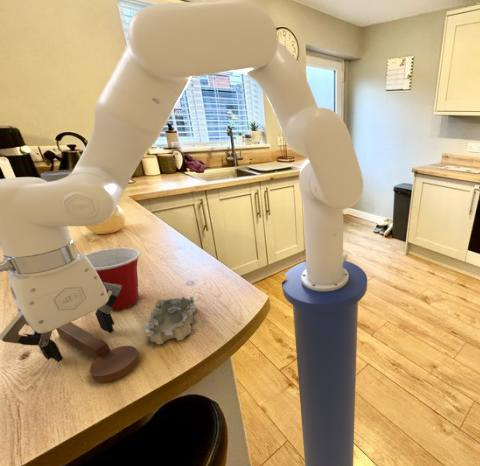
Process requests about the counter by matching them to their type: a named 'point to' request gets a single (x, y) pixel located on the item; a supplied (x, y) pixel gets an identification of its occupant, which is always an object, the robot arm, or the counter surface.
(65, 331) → the spoon
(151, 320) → the crystal geode chunk
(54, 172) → the reusable coffee cup
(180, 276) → the counter surface
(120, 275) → the plastic cup
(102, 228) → the cream rounded lump
